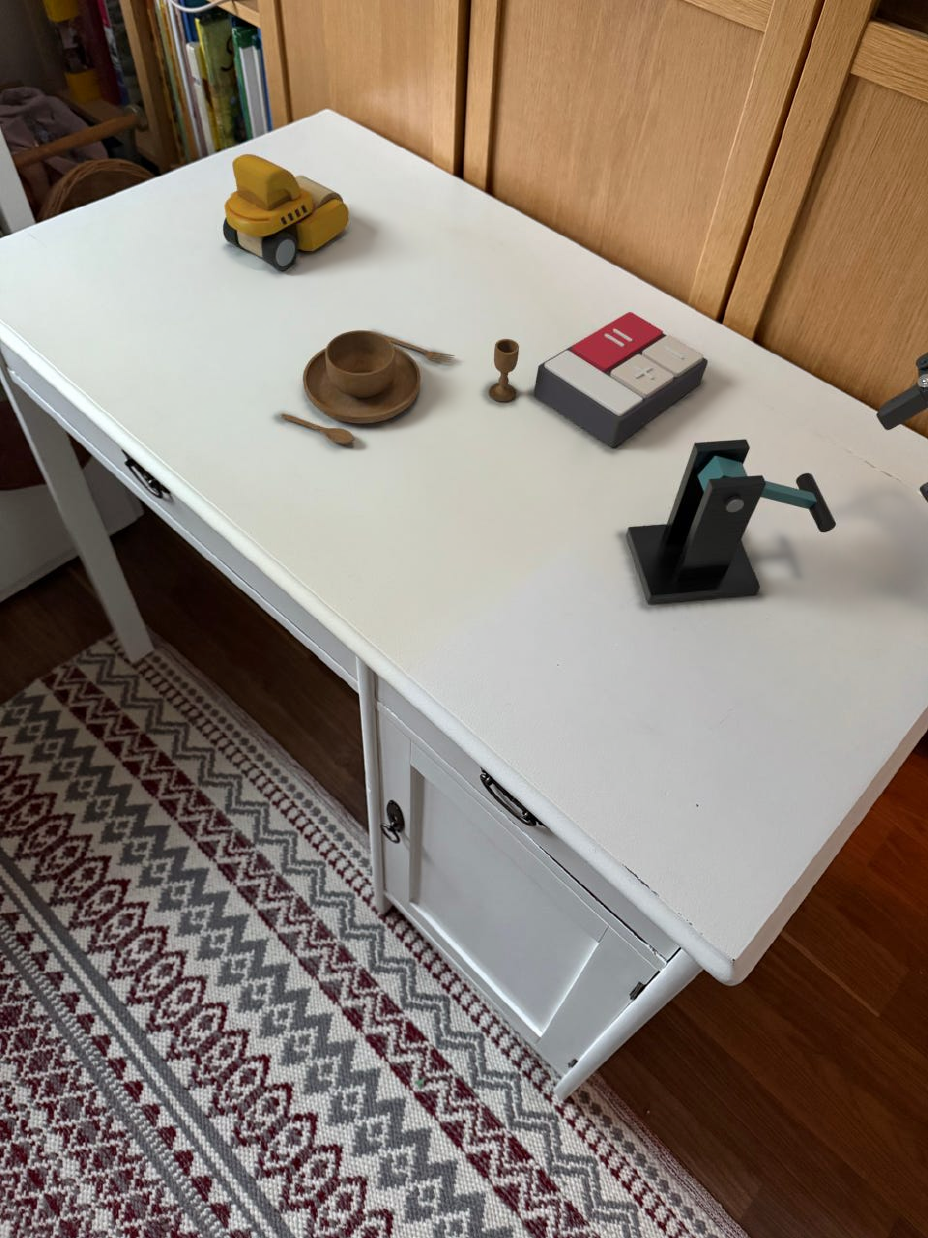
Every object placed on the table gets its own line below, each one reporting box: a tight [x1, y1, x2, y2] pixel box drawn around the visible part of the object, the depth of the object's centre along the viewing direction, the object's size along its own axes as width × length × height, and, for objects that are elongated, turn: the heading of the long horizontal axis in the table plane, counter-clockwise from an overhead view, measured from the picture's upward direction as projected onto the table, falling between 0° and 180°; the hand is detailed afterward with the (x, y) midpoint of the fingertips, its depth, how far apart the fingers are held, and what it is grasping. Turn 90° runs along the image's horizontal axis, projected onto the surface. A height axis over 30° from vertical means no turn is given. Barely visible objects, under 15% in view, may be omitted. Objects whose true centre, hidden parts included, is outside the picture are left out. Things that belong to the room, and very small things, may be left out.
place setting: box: [280, 329, 520, 445], centre depth 90 cm, size 18×20×6 cm
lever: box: [698, 456, 837, 533], centre depth 75 cm, size 12×6×2 cm, turn 99°
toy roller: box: [222, 153, 350, 271], centre depth 104 cm, size 9×14×10 cm, turn 142°
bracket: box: [625, 438, 766, 605], centre depth 77 cm, size 10×8×13 cm
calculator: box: [533, 311, 709, 448], centre depth 94 cm, size 11×4×15 cm
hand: (901, 458), depth 74 cm, fingers open, 8 cm apart
